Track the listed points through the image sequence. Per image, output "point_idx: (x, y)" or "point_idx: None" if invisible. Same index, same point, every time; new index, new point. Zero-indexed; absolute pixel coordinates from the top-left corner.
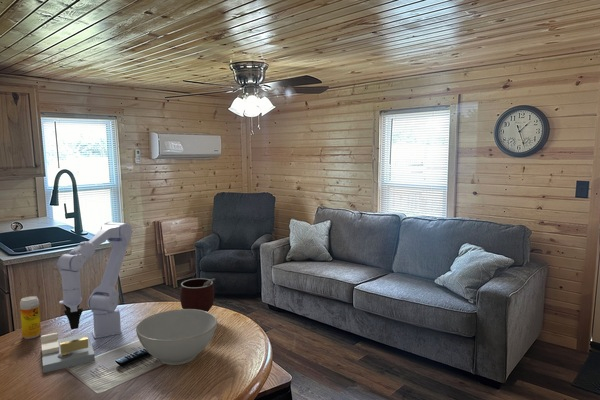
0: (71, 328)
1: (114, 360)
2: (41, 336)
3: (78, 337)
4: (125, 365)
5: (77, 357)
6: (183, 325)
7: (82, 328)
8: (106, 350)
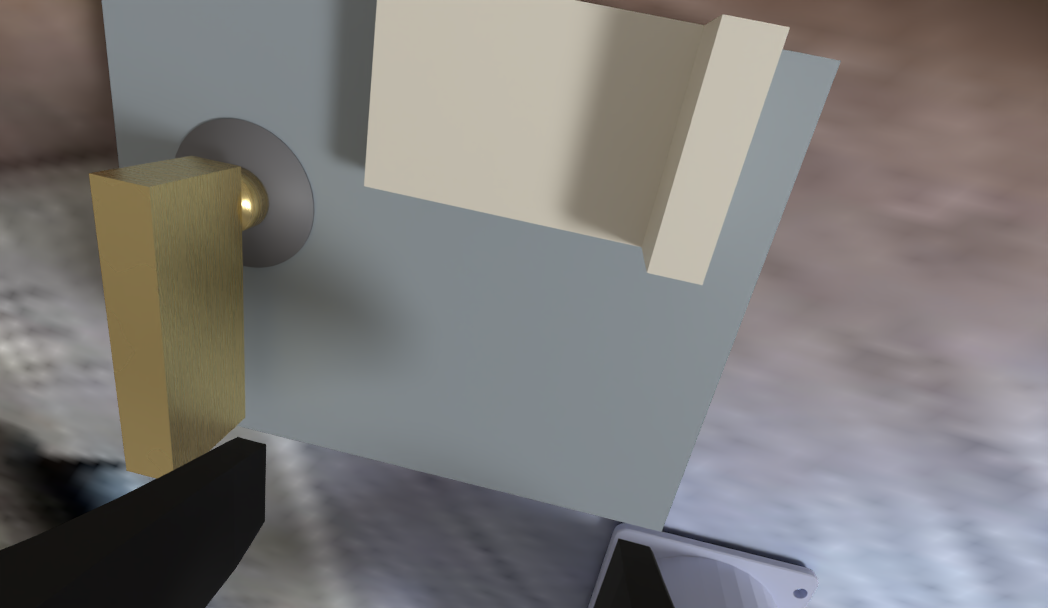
0: (219, 448)
1: None
2: (738, 27)
3: (627, 437)
4: (27, 474)
5: None
6: None
7: (998, 547)
8: (330, 490)
